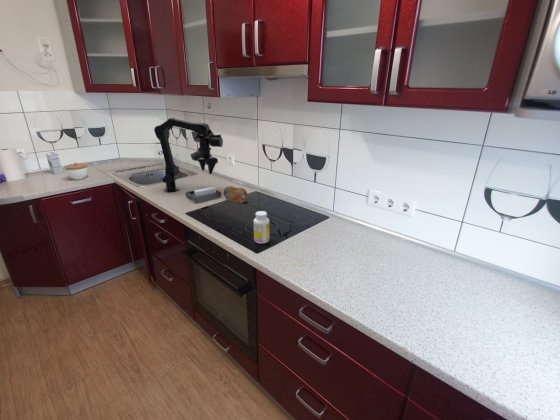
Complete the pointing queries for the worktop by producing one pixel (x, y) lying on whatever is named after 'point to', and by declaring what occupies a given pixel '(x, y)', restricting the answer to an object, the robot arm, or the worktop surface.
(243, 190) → the tin
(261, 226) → the supplement bottle
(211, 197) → the box
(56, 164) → the syrup box
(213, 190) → the panel
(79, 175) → the lidded bowl
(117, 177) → the worktop surface
